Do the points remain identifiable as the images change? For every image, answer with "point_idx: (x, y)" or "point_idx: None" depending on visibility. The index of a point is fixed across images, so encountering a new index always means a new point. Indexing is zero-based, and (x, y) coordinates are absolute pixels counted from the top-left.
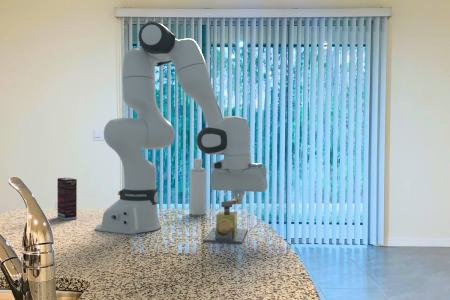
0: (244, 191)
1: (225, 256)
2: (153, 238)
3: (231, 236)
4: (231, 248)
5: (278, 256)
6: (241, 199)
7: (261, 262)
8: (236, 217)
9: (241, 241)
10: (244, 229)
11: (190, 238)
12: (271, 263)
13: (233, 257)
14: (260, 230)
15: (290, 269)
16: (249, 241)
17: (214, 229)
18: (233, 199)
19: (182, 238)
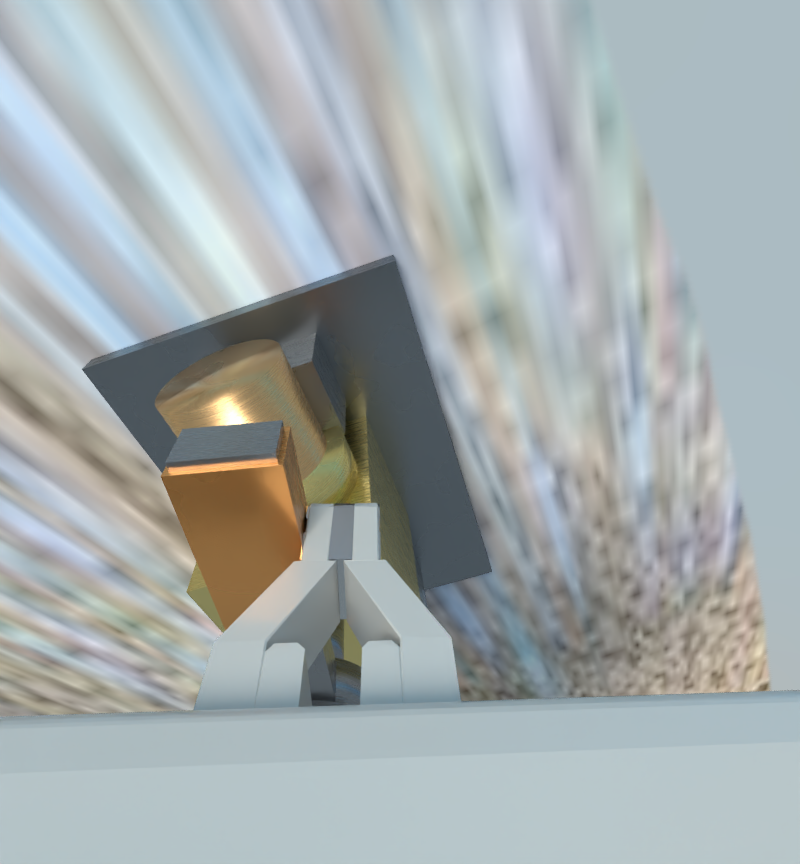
0: (457, 691)
1: (482, 687)
2: (6, 671)
3: (420, 578)
4: (464, 621)
5: (690, 613)
6: (381, 561)
7: (627, 676)
8: (384, 531)
9: (488, 570)
10: (378, 297)
11: (165, 597)
12: (664, 670)
13: (515, 683)
14: (502, 144)
15: (728, 680)
16: (511, 499)
17: (151, 425)
18: (233, 575)
19: (128, 614)
